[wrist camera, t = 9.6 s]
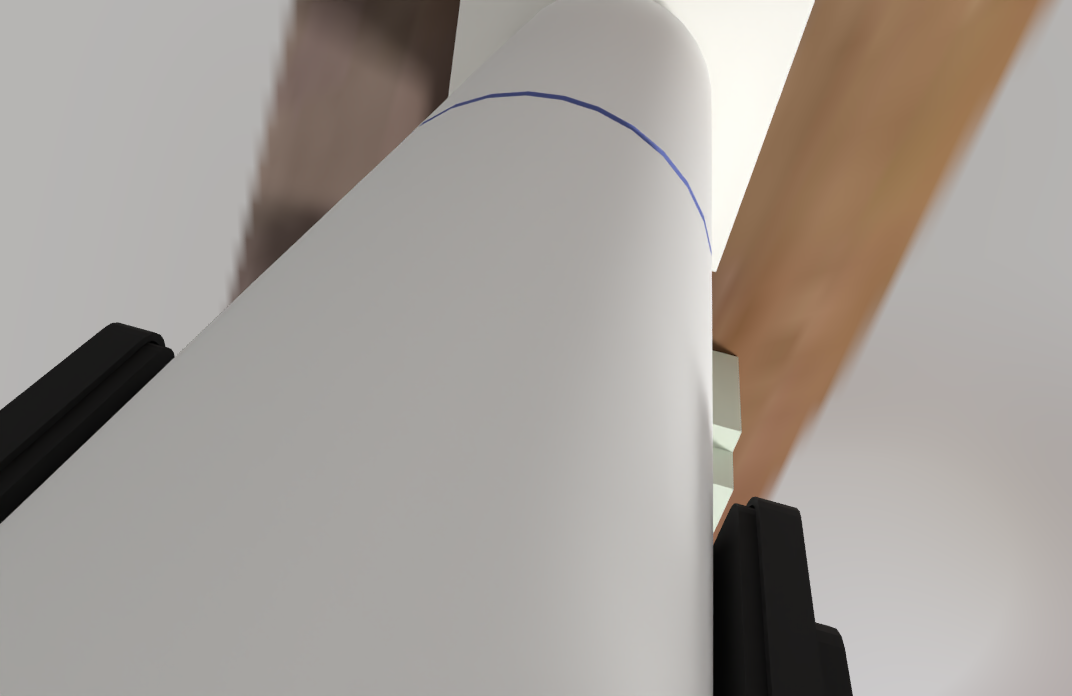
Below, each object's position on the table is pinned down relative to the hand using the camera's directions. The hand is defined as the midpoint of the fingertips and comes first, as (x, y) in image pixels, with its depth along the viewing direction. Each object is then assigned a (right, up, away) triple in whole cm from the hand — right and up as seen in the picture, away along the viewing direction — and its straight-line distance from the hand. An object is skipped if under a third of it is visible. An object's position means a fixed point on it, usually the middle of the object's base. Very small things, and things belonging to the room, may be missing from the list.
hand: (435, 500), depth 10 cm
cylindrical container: (+4, +10, +16) cm, 20 cm away
